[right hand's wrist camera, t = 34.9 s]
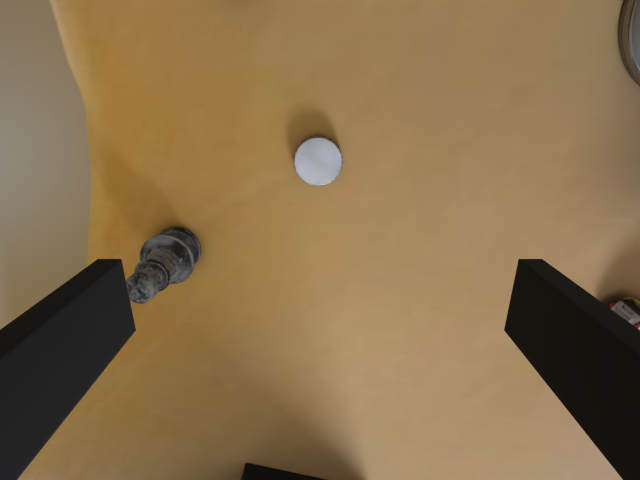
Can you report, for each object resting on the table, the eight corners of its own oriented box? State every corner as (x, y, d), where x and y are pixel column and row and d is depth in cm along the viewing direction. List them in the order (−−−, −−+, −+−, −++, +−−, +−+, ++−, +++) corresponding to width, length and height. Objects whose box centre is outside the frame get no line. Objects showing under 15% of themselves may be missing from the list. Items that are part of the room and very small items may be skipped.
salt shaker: (150, 263, 45) (93, 318, 34) (156, 218, 43) (99, 261, 32) (198, 276, 46) (159, 334, 34) (207, 232, 44) (168, 278, 32)
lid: (296, 132, 40) (295, 133, 38) (344, 138, 40) (345, 139, 38) (292, 180, 42) (291, 183, 40) (338, 185, 42) (339, 188, 40)
